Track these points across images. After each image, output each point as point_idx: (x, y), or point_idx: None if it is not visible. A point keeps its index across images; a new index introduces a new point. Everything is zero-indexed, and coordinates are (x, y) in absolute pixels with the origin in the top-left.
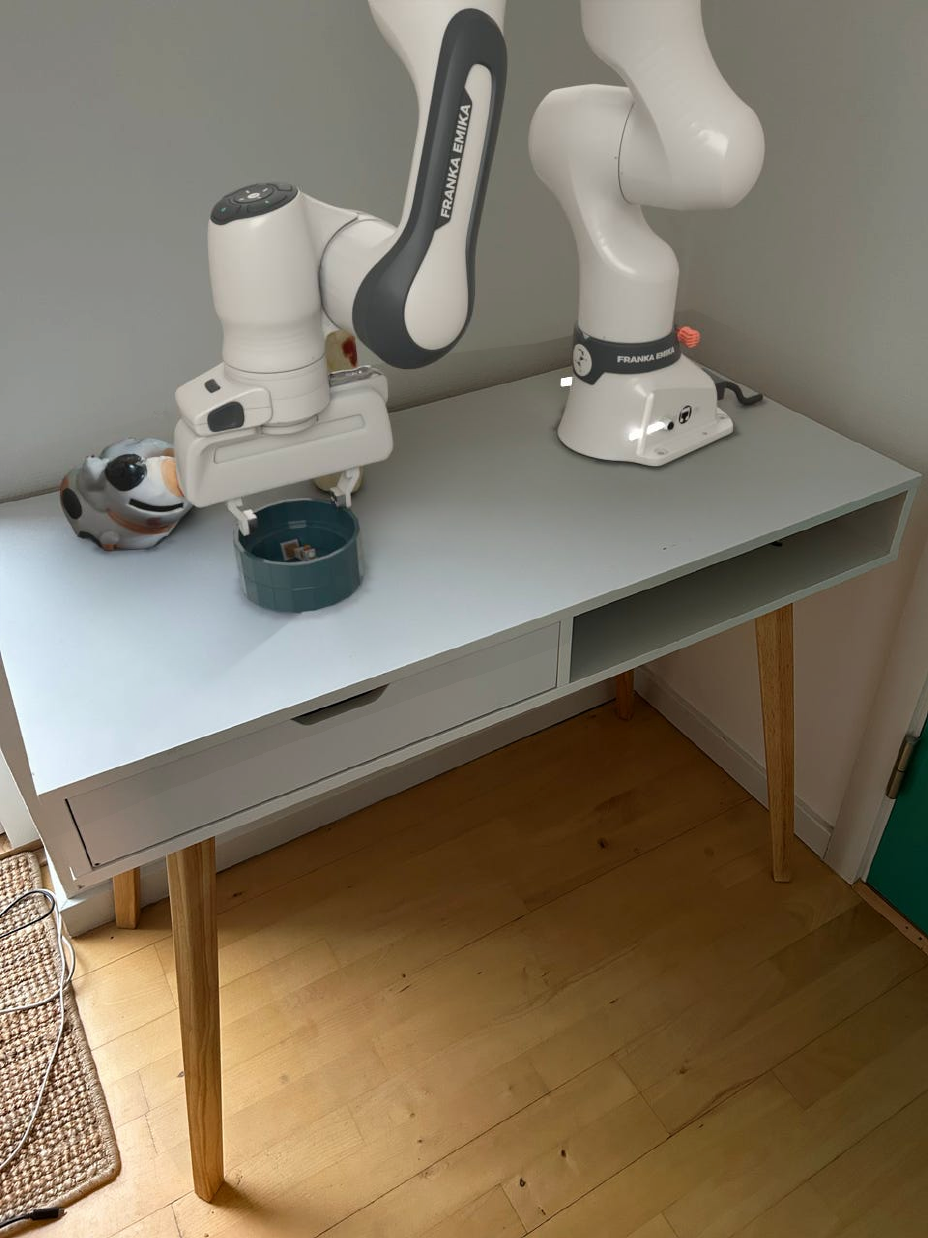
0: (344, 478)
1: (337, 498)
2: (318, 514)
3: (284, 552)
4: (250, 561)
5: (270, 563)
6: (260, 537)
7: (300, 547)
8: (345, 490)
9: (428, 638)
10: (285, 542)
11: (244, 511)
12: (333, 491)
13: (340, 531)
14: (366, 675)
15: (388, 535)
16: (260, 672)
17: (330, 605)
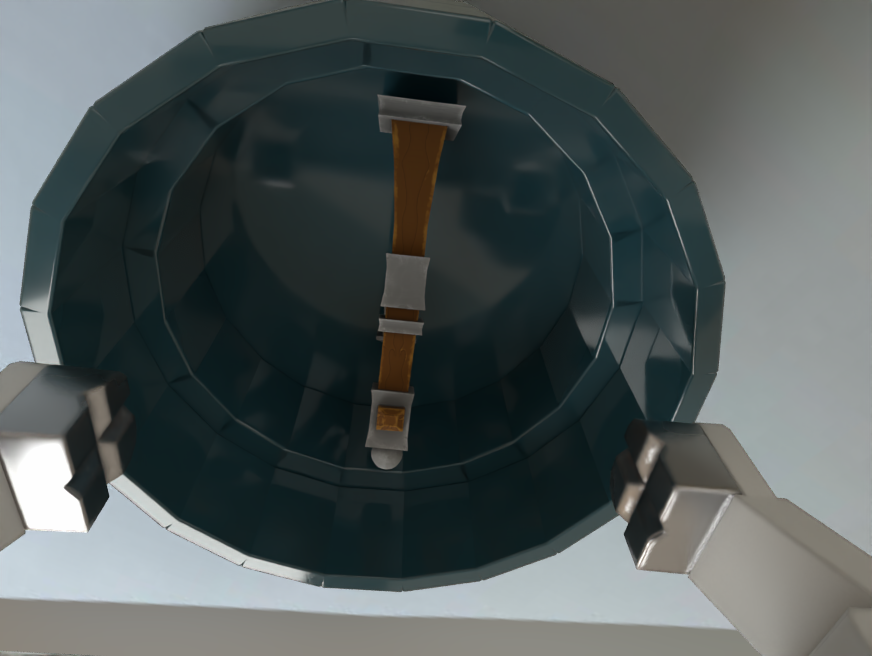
0: (791, 595)
1: (635, 558)
2: (621, 157)
3: (383, 123)
4: None
5: (168, 530)
6: (272, 70)
7: (417, 260)
8: (708, 595)
9: (528, 591)
10: (405, 99)
11: (6, 440)
12: (665, 526)
13: (632, 262)
14: (349, 611)
15: (837, 171)
16: (131, 518)
17: None
